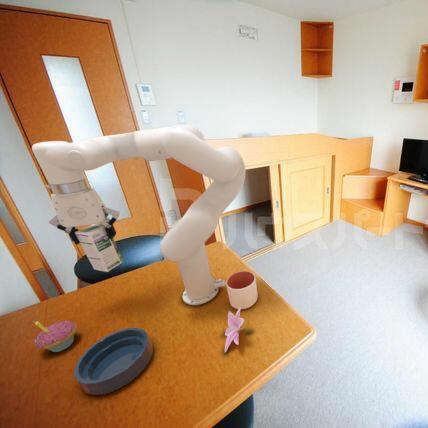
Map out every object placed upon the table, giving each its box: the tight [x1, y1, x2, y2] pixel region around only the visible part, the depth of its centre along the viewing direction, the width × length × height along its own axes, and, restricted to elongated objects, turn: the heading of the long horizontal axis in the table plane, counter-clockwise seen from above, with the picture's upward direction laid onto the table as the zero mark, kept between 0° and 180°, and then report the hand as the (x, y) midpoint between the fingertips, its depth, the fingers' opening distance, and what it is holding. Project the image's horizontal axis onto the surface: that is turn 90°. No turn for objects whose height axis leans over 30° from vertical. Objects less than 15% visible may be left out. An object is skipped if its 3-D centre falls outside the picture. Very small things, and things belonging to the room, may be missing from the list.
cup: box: [225, 270, 259, 310], centre depth 87 cm, size 10×10×10 cm
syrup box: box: [75, 223, 124, 273], centre depth 76 cm, size 6×6×14 cm
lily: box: [224, 307, 251, 354], centre depth 74 cm, size 12×12×10 cm
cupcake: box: [32, 320, 78, 353], centre depth 70 cm, size 9×8×12 cm
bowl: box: [73, 327, 154, 396], centre depth 66 cm, size 16×16×6 cm
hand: (96, 239), depth 75 cm, fingers closed on syrup box, 7 cm apart
